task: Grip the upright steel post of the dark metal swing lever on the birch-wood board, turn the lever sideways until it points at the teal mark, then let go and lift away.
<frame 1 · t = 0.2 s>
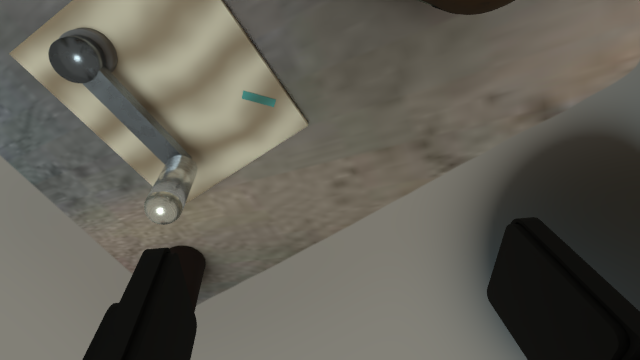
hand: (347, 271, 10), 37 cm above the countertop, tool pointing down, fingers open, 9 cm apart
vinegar: (183, 260, 57), on the countertop
lever: (117, 132, 36), point 9 cm above the countertop, hinge at 0.0°
lever board: (96, 50, 40), on the countertop
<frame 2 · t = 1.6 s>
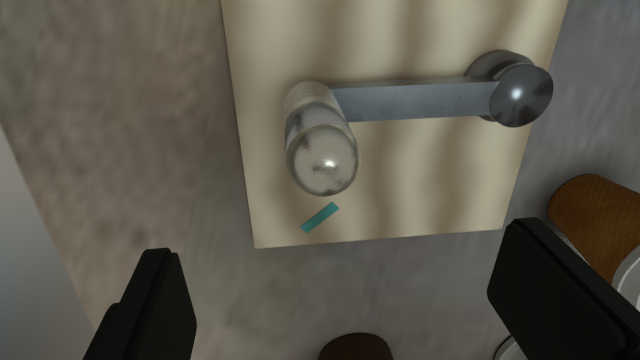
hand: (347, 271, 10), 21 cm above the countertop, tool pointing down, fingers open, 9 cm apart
lever: (444, 122, 21), point 9 cm above the countertop, hinge at 0.0°
olive oil: (353, 354, 46), on the countertop
lever board: (484, 79, 30), on the countertop
disposable coffee cup: (576, 199, 37), on the countertop
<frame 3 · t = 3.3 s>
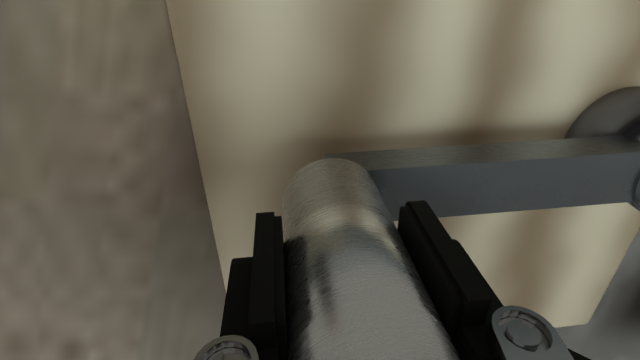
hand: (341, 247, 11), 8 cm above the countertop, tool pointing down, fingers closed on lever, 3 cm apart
lever: (602, 254, 11), point 9 cm above the countertop, hinge at 0.0°, touching gripper
lever board: (593, 128, 19), on the countertop
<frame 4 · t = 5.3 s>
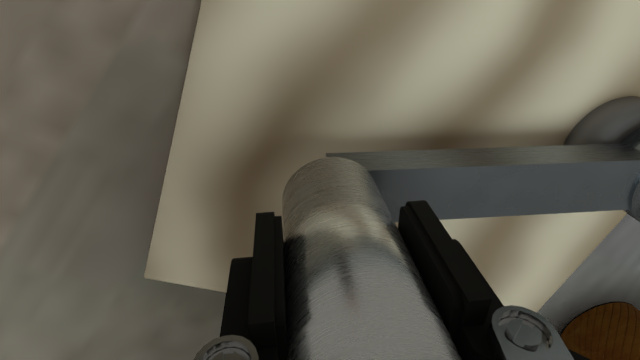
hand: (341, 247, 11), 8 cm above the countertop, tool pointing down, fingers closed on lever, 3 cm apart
lever: (600, 259, 11), point 9 cm above the countertop, hinge at 20.3°, touching gripper
lever board: (591, 136, 19), on the countertop
disposable coffee cup: (595, 327, 29), on the countertop
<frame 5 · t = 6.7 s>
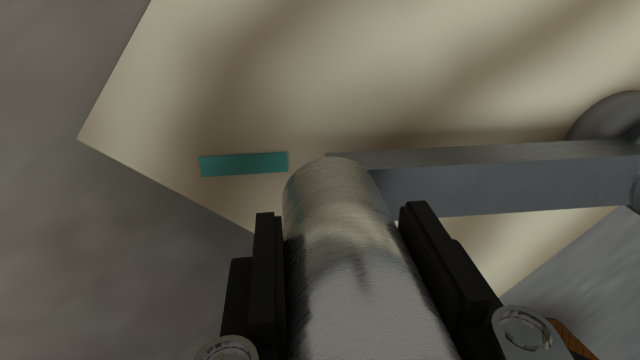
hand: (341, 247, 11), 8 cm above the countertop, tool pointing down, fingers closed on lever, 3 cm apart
lever: (601, 255, 11), point 9 cm above the countertop, hinge at 39.2°, touching gripper
lever board: (592, 131, 19), on the countertop
disposable coffee cup: (525, 342, 29), on the countertop
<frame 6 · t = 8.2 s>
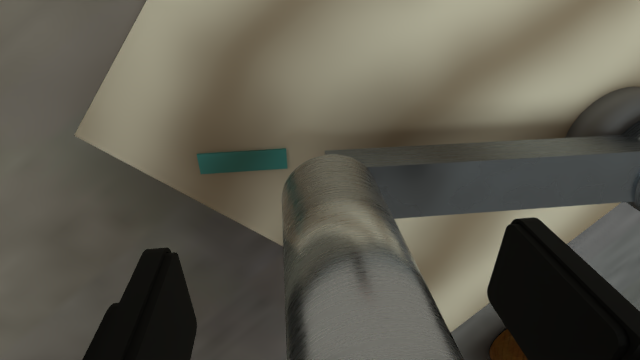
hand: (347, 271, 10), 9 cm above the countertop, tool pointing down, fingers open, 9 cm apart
lever: (603, 253, 11), point 9 cm above the countertop, hinge at 39.4°
lever board: (593, 128, 19), on the countertop
disposable coffee cup: (525, 340, 29), on the countertop
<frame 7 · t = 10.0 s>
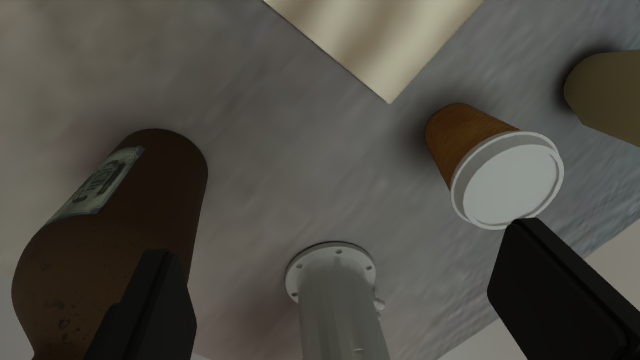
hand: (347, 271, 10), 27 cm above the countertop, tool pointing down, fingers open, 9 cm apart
olive oil: (163, 166, 38), on the countertop
squeeze bottle: (587, 79, 39), on the countertop
disposable coffee cup: (451, 129, 40), on the countertop
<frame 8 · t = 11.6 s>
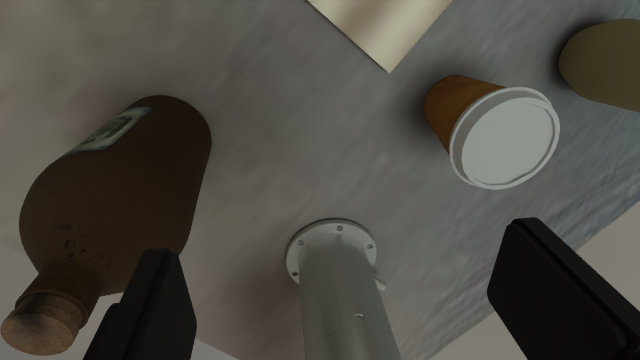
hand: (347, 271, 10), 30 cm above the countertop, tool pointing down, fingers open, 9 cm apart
olive oil: (168, 135, 39), on the countertop
squeeze bottle: (581, 54, 40), on the countertop
disposable coffee cup: (449, 102, 41), on the countertop
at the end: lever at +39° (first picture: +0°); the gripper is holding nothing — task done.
